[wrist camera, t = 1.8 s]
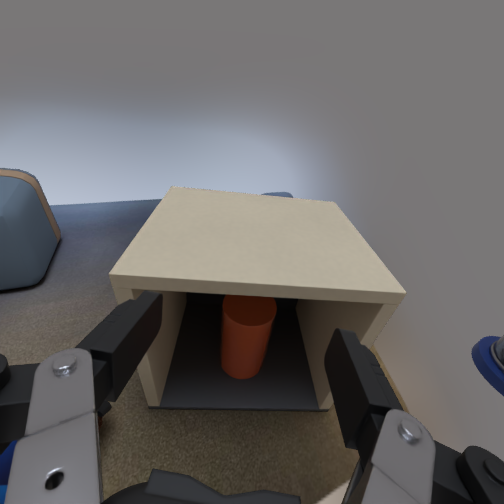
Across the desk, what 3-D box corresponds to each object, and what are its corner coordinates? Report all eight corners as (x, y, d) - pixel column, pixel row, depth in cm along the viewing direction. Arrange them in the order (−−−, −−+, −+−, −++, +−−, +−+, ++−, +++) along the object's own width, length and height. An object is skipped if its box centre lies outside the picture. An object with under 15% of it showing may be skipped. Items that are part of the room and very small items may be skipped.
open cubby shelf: (300, 306, 40) (334, 201, 30) (327, 411, 27) (407, 293, 17) (180, 299, 39) (171, 185, 28) (148, 408, 26) (107, 273, 15)
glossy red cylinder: (260, 337, 34) (271, 285, 28) (267, 378, 29) (282, 325, 23) (219, 338, 33) (222, 285, 27) (219, 380, 28) (223, 327, 23)
